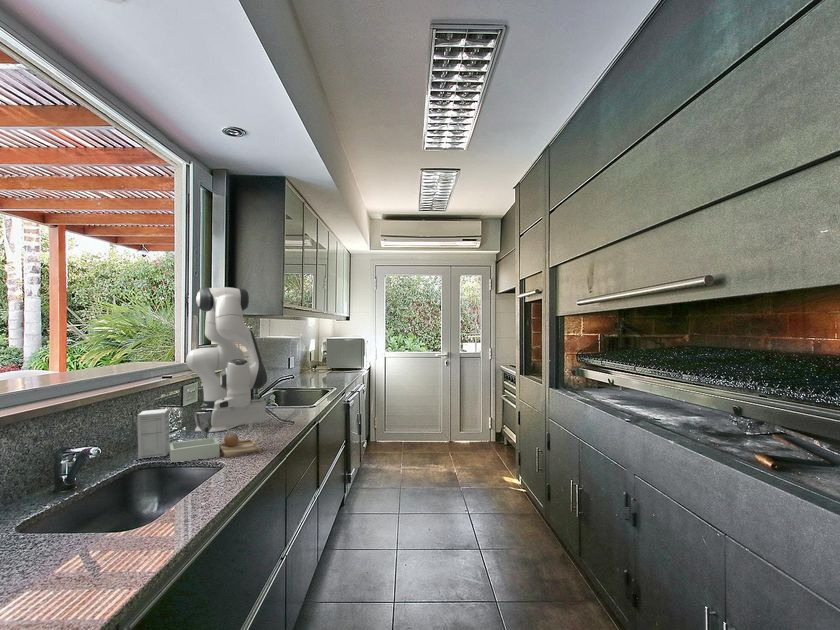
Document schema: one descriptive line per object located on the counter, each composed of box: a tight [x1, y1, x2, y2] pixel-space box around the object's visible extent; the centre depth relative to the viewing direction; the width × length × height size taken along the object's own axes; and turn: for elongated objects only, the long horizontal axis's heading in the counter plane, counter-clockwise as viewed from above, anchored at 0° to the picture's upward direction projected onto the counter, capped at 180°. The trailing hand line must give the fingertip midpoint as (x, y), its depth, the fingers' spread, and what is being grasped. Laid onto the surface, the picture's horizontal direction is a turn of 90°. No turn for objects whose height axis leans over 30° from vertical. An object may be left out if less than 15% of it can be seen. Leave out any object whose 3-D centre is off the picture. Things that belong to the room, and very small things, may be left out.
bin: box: [169, 436, 221, 464], centre depth 173 cm, size 12×16×5 cm
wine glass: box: [194, 409, 213, 439], centre depth 185 cm, size 8×8×15 cm
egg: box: [223, 432, 239, 446], centre depth 185 cm, size 5×5×8 cm
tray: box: [219, 438, 262, 459], centre depth 181 cm, size 18×13×2 cm
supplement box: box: [136, 408, 171, 458], centre depth 176 cm, size 10×9×17 cm
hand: (239, 436), depth 181 cm, fingers open, 5 cm apart
